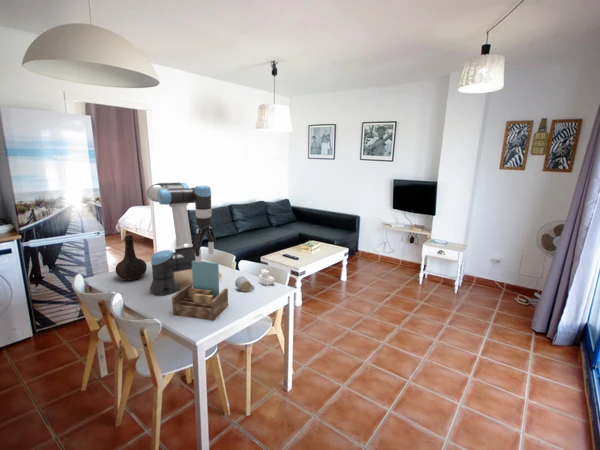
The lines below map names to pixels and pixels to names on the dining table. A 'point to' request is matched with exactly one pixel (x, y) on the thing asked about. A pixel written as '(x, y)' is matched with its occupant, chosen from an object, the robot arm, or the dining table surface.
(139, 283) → the dining table surface
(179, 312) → the walnut rack
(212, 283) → the teal sheet
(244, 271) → the dining table surface
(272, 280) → the white lumpy piece
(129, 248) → the glass bottle
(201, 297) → the oak offcut front
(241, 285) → the ceramic mug
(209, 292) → the oak offcut middle
